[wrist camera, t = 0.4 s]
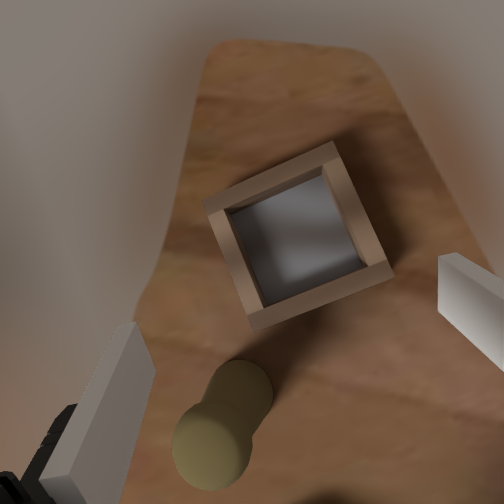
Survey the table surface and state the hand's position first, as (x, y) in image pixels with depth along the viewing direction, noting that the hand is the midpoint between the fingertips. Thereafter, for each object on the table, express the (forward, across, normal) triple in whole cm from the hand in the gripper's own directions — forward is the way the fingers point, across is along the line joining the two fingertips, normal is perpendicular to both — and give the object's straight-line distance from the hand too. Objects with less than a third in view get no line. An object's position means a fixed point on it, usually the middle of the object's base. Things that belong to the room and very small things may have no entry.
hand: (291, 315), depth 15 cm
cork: (+12, +5, +15) cm, 20 cm away
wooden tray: (+16, -3, +3) cm, 17 cm away
